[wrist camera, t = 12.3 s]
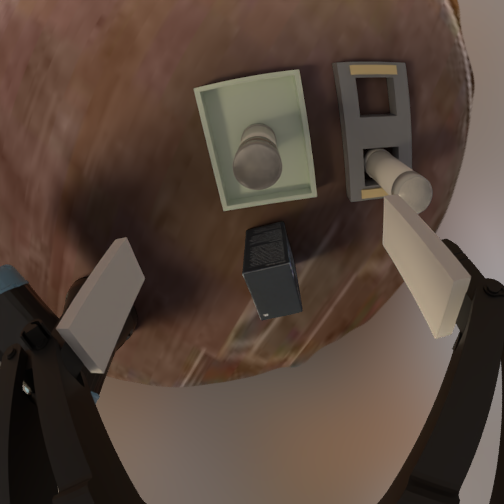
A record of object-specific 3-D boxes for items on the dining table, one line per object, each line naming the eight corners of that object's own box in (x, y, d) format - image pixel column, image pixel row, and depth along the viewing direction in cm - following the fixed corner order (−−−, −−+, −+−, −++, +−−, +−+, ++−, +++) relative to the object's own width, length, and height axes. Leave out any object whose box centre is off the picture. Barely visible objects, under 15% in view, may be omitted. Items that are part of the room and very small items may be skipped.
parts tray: (313, 189, 38) (317, 196, 36) (225, 203, 40) (223, 211, 38) (296, 70, 30) (299, 69, 28) (197, 87, 31) (193, 88, 29)
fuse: (362, 177, 37) (396, 216, 27) (360, 147, 35) (397, 177, 25) (390, 175, 37) (430, 213, 27) (389, 145, 34) (433, 175, 24)
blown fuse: (245, 158, 36) (238, 193, 26) (238, 126, 34) (227, 148, 24) (278, 152, 35) (285, 185, 25) (272, 120, 33) (278, 139, 23)
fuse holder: (404, 189, 38) (412, 195, 36) (346, 195, 39) (351, 203, 37) (397, 63, 28) (406, 62, 26) (332, 63, 29) (337, 62, 27)
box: (295, 264, 45) (303, 313, 36) (259, 272, 46) (259, 321, 37) (284, 219, 41) (290, 263, 32) (245, 228, 42) (240, 274, 33)
